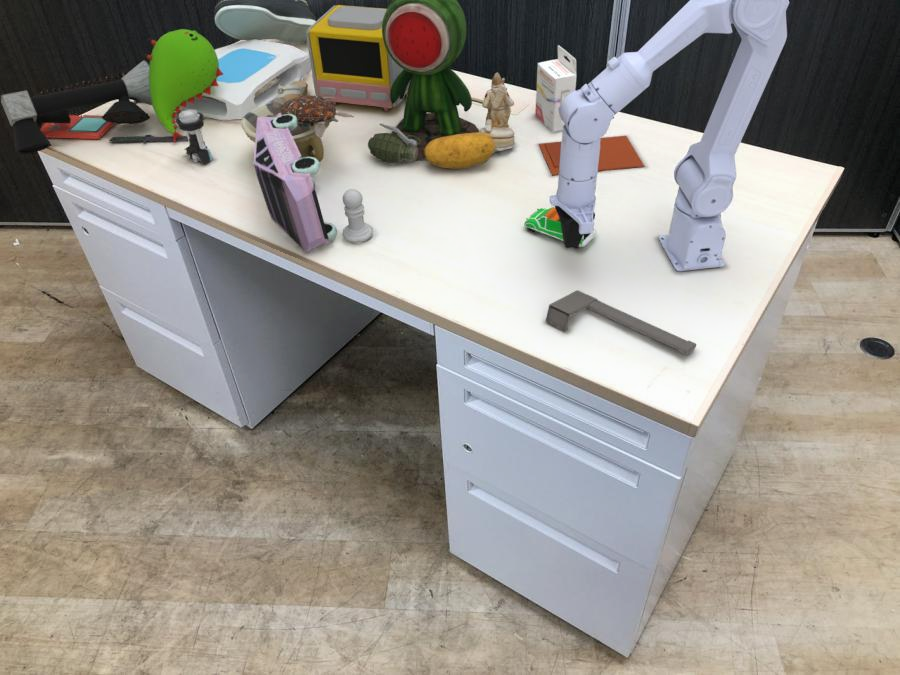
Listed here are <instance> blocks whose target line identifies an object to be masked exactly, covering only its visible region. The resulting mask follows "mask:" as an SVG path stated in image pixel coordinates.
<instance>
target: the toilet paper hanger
mask: <svg viewBox="0 0 900 675" xmlns="http://www.w3.org/2000/svg"><path fill="white" fill-rule="evenodd" d="M584 309H585V310H590V311H593V312H595V313H596V314H599V315H601V316H603V317H606V318H608V319H610V320H611V321H614V322H616V323H619V324H621V325H623V326H625V327H627V328H629V329H632V330H633V331H636V332H638V333H640V334H643V335H644V336H647V337H649V338H650V339H653V340H656V341H658V342H659V343H662V344H664V345H666V346H668V347H670V348H673V349H675V350H677V351H678V352H679V353H681V354H683V355H685V356H688V355H689V354H691V353H692V352H693V351H695V350H696V347H697V343H696V342H693V341H691V340H686V339H684V338H681V337H679V336H677V335H675V334H673V333H671V332H668V331H666V330H664V329H661V328H660V327H657V326H655V325H652V324H651V323H649V322H647V321H644V320H643V319H639V318H637V317H635V316H633V315H631V314H630V313H629V314H628V313H626V312H624V311H622V310H619V309H618V308H616V307H613V306H611V305H609V304H606V303H604V302H603V301H600V300H598V298H596V297H593V296H591V295H589V294H587V293H584V292H582V291H580V290H574V291H573V292H570V293H569V294H567V295H565V296H563V297H562V298H560V299H557V300H555V301H554V302H551V303H550V304H548V309H547V314H546V319H545V322H546V323H548V324H550V325H551V326H554V327H556V328H558V329H560V330H562V331H564V332H565V331H567V330H568V328H569V324H570V319H571V317H572V316H573V315H575V314H577V313H579V312H581V311H582V310H583V311H584Z"/></svg>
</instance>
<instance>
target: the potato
mask: <svg viewBox="0 0 900 675" xmlns="http://www.w3.org/2000/svg"><path fill="white" fill-rule="evenodd" d="M494 150H495V142H494V140H493V137H492V136H490V135H489V134H485V133H480V131H479V132H477V133H465V134H456V135H452V136H446V137H441V138H436V139H434V140H432V141H431V142H429V143H428V144H427V146H426V147H425V149H424V153H425V156H426V159H425V160H426V161H428V163H430V164H431V165H433V166H435V167H437V168H442V169H450V170H464V169H468V168H473V167H476V166H479V165H481V164H483V163H485V162H487V161H488V160H490V159H491V157H492V156H493V155H494V153H495V152H494Z"/></svg>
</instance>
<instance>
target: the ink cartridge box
mask: <svg viewBox="0 0 900 675" xmlns="http://www.w3.org/2000/svg"><path fill="white" fill-rule="evenodd" d="M565 57H566V58H567V59H568V60H567V59H566V58H565ZM536 69H537V70H536V92H535V94H536V96H535V112H534V114H535V117H537V118H538V119H539V120H540V122H542V124H544V125H545V126H546V128H548V129H549V130H550V131H551V132H552V133H555V132H556V133H557V132H560V131H563V125H565V124H564V122H563V121H562V119H561V117H560V115H559V111H558V108H559V107H560V106H561V105H562V104H563V103H562V102H563V100H564V99H565V97H566V96H567V95H569V94H570V93H571V92H573V91H575V90H576V89H577V88H576V87H577V76H578V75H577V59H576V57H574V56H573V55H572V54H571V53H570V52H568V51H567V50H566V49H564V48H563V47H562V46H560V45H559V44H557V59H556V58H555V59H550V60H545V61H540V62H537V68H536Z"/></svg>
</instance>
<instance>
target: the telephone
mask: <svg viewBox="0 0 900 675" xmlns="http://www.w3.org/2000/svg"><path fill="white" fill-rule="evenodd" d="M149 66H150V63H148V62H147V61H146V60H141V62H140V63H138V64H137V65H136V66H134V67H133V68H132V69H131V70H130V69H129V70H127V72H126V71H122V72H121V73H120V72H116V76H115V74H114V73H111V74H110V77H109V76H108V75H107V74H106V75H105V78H103V76H100V77H99V78H98V79H97V78H93V81H92V80H90V79H88V81H87V84H86V82H85V81H84V80H83V81H82V84H80V83H79V82H76V86H75V85H74V84H73V83H70V84H69V86H68V85H64V86H63V87H64V88H62V87H58V90H57V89H55V88H52V89H51V90H49V89H46V93H45V92H43V91H40V93H39V94H38V93H34V96H33V95H30V94H29V92H28V90H27V89H26V90H21V91H15V92H10V93H4V94H1V95H0V103H1V106H2V108H3V111H4V113H5V115H6V117H7V119H8V122H9V125H10V127H11V128H13V138H14V145H15V146H14V147H15V148H14V149H15V153H16V154H17V155H26V154H27V155H28V154H32V153H36V152H41V151H45V150H46V149H49V148H50V147H51V146H52V143H51V141H50V140H49V139H48V137H46V136H45V135H44V134H43V132H42V131H41V130H40V129H41V127H42V124H43V123H70V117H69V115H70V114H69V111H68V110H74V109H78V108H82V107H88V106H94V105H97V104H101V103H102V104H103V103H109V102H112V101H115V102H114V103H112V105H111V106H110V107H109V108H108V110H106V112H104V114H102V115H101V116H102V119H103V120H105V121H108V122H112V123H115V124H116V125H132V124H133V125H135V124H140V123H144V122H146V121H148V120H150V118H151V116H150V115H149V113H147V111H145V110H144V109H143V108H142V107H140V106H139V105H138V104H137V103H134V100H135V101H137V102H139V103H142V104H146V105H151V106H153V105H152V100H151V95H150V87H149ZM118 77H120V78H121V79H119V78H118ZM108 79H109V81H108ZM114 79H115V80H114ZM102 81H103V83H102ZM85 84H86V86H85Z"/></svg>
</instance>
